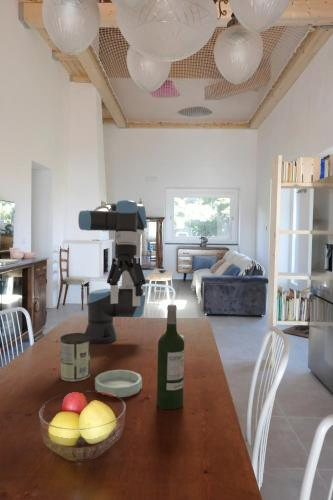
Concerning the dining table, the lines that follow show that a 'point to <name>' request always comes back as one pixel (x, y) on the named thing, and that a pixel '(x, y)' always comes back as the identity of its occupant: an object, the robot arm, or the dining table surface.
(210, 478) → the dining table surface
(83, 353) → the coffee can
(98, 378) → the ring tray
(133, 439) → the dining table surface
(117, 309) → the robot arm
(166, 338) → the wine bottle
